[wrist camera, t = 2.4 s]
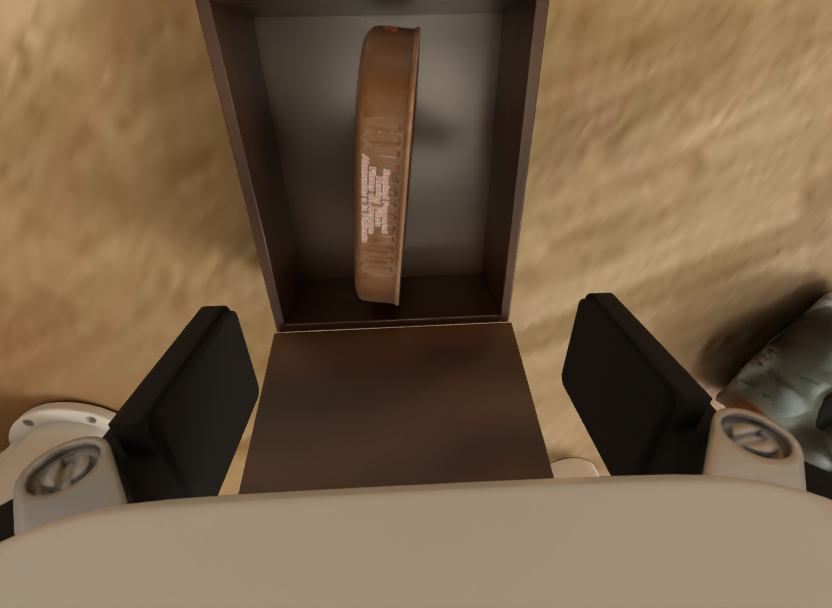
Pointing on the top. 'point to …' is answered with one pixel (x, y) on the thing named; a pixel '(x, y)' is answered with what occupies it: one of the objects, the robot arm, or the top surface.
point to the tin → (384, 158)
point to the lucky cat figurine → (793, 383)
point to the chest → (335, 150)
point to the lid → (394, 410)
